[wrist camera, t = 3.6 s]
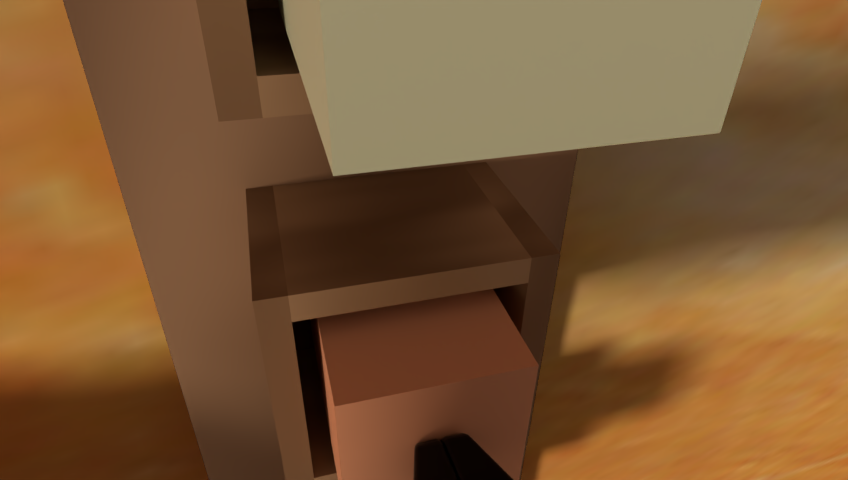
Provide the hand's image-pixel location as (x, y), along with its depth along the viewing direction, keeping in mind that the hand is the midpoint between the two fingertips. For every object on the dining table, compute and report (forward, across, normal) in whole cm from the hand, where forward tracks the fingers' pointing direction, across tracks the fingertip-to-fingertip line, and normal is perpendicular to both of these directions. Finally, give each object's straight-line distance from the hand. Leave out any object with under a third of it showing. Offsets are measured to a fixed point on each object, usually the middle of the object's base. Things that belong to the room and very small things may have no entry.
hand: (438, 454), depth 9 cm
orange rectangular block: (+5, 0, 0) cm, 5 cm away
